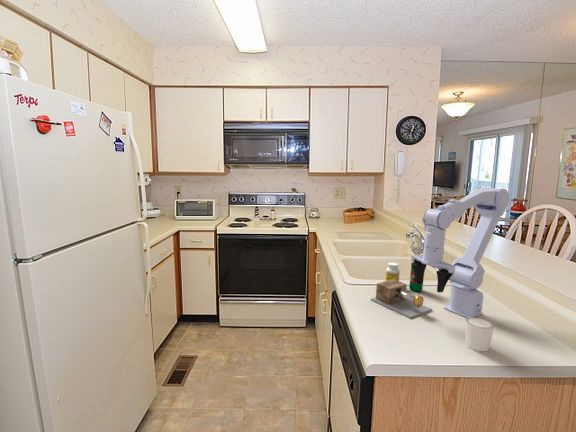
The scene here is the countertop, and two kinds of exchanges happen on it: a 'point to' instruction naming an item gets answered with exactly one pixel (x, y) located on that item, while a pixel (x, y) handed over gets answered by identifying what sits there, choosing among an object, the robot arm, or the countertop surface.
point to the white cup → (478, 333)
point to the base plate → (405, 308)
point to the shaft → (410, 298)
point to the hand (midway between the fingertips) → (429, 287)
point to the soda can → (414, 282)
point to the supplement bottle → (392, 272)
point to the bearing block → (389, 291)
